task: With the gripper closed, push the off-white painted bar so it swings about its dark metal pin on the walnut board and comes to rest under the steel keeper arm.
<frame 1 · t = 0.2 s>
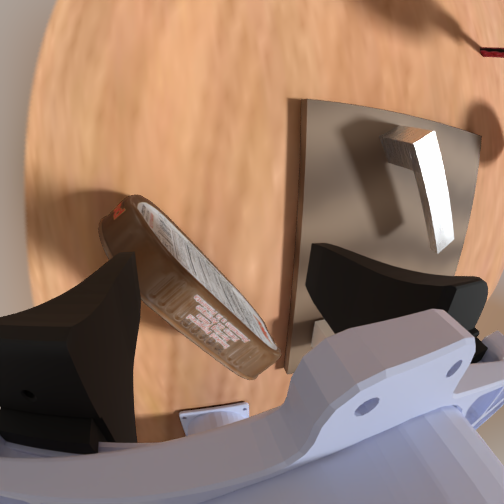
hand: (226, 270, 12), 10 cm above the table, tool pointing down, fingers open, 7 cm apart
keeper: (386, 142, 22), resting on pivot board
tin: (194, 261, 23), on the table
pivot board: (423, 296, 32), on the table
pivot bar: (394, 321, 28), point 3 cm above the table, hinge at 90.0°
lantern: (481, 52, 20), on the table
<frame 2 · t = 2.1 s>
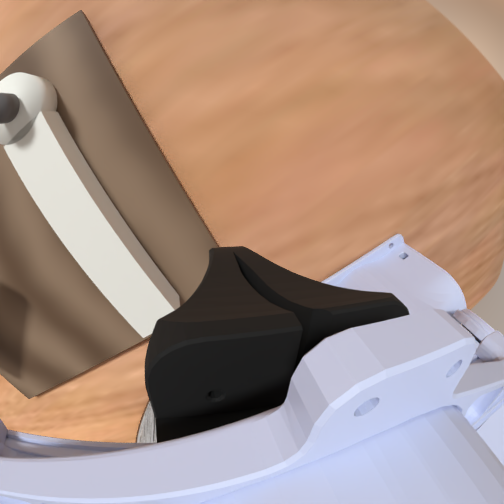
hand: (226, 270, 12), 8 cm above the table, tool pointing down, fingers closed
tin: (157, 400, 26), on the table
pivot board: (38, 108, 13), on the table
pivot bar: (76, 205, 14), point 3 cm above the table, hinge at 90.0°
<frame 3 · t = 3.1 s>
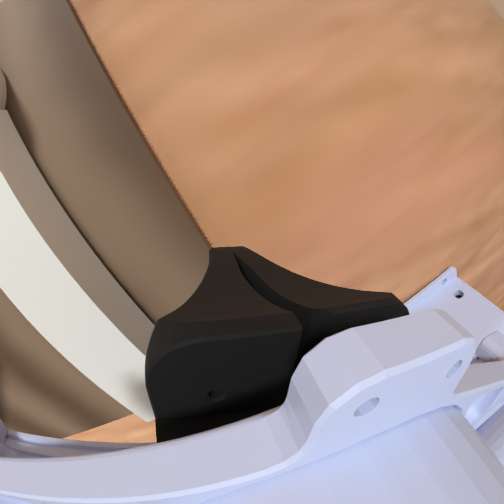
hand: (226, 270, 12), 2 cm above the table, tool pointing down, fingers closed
pivot bar: (35, 253, 9), point 3 cm above the table, hinge at 90.0°
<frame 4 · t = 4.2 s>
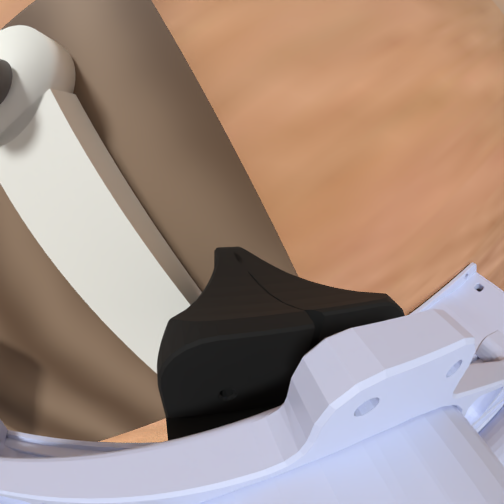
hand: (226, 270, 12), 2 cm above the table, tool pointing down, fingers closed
pivot board: (42, 91, 8), on the table
pivot bar: (111, 248, 10), point 3 cm above the table, hinge at 89.9°, touching gripper
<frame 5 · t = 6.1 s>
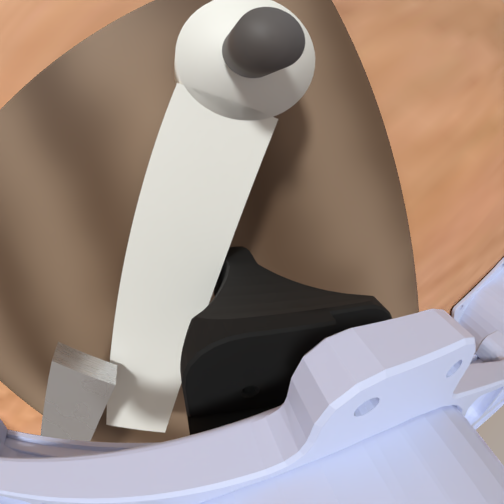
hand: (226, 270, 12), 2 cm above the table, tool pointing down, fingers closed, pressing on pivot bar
keeper: (68, 396, 15), resting on pivot board
pivot board: (224, 73, 10), on the table
pivot bar: (169, 259, 10), point 3 cm above the table, hinge at 42.3°, touching gripper
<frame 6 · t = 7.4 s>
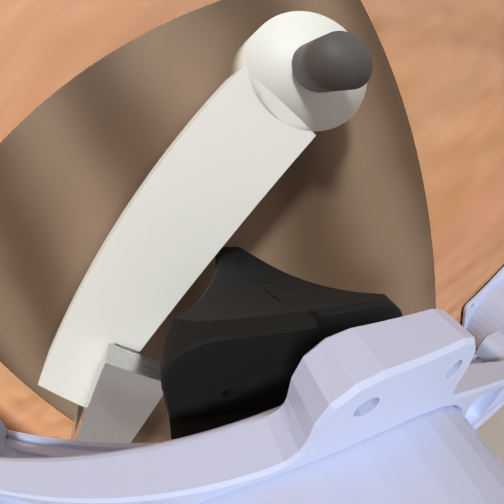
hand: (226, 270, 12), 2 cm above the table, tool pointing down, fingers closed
keeper: (96, 397, 15), resting on pivot board
pivot board: (272, 81, 11), on the table
pivot bar: (163, 232, 10), point 3 cm above the table, hinge at 22.6°, touching gripper
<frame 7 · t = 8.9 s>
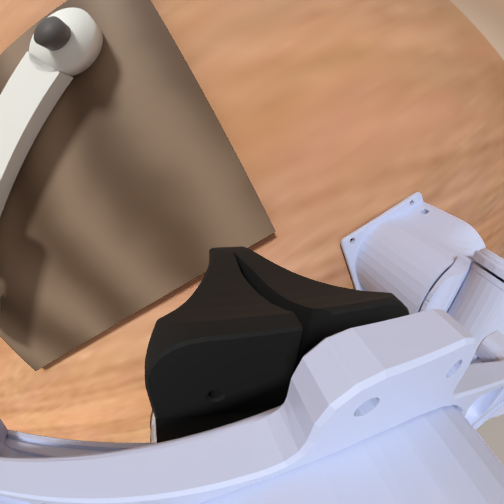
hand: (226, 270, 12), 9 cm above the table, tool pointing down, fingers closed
pivot board: (78, 51, 13), on the table
pivot bar: (4, 144, 12), point 3 cm above the table, hinge at 22.5°
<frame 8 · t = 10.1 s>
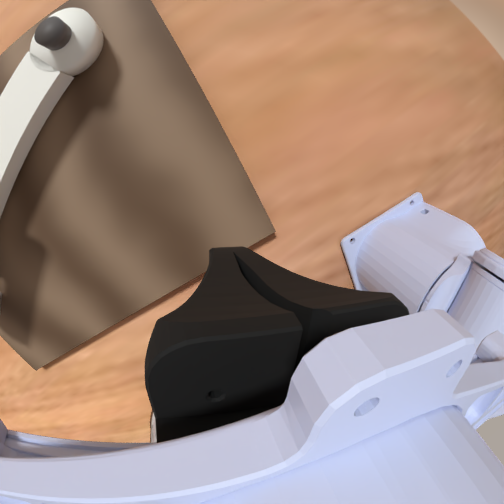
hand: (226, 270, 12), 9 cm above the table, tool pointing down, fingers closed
pivot board: (79, 51, 13), on the table
pivot bar: (5, 143, 12), point 3 cm above the table, hinge at 22.5°
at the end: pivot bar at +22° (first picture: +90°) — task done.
